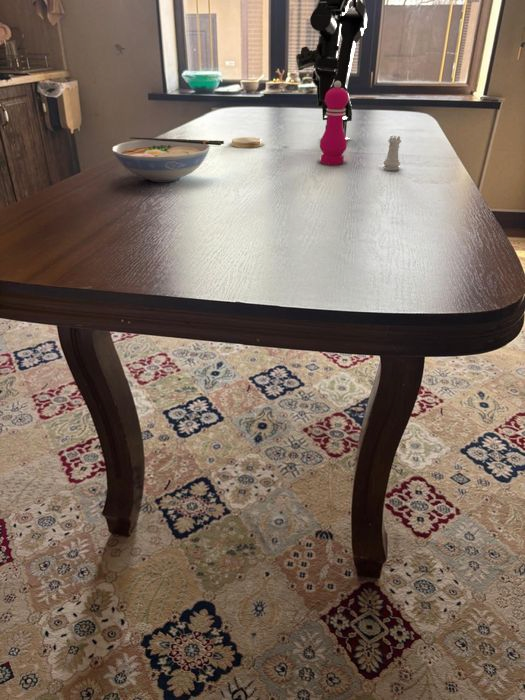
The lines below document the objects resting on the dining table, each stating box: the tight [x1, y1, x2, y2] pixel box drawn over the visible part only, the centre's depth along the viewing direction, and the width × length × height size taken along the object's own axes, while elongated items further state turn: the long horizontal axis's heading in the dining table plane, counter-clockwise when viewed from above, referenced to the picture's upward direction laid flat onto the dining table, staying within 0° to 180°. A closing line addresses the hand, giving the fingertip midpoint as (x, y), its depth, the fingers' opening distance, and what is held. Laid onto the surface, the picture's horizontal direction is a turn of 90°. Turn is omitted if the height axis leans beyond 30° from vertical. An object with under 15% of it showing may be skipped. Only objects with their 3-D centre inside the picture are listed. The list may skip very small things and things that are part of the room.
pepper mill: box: [319, 81, 349, 166], centre depth 138 cm, size 7×7×20 cm
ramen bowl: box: [111, 137, 225, 183], centre depth 124 cm, size 25×23×8 cm
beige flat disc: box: [230, 136, 263, 149], centre depth 164 cm, size 10×10×2 cm
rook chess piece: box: [382, 135, 402, 172], centre depth 134 cm, size 4×4×8 cm
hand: (320, 103), depth 149 cm, fingers open, 9 cm apart
